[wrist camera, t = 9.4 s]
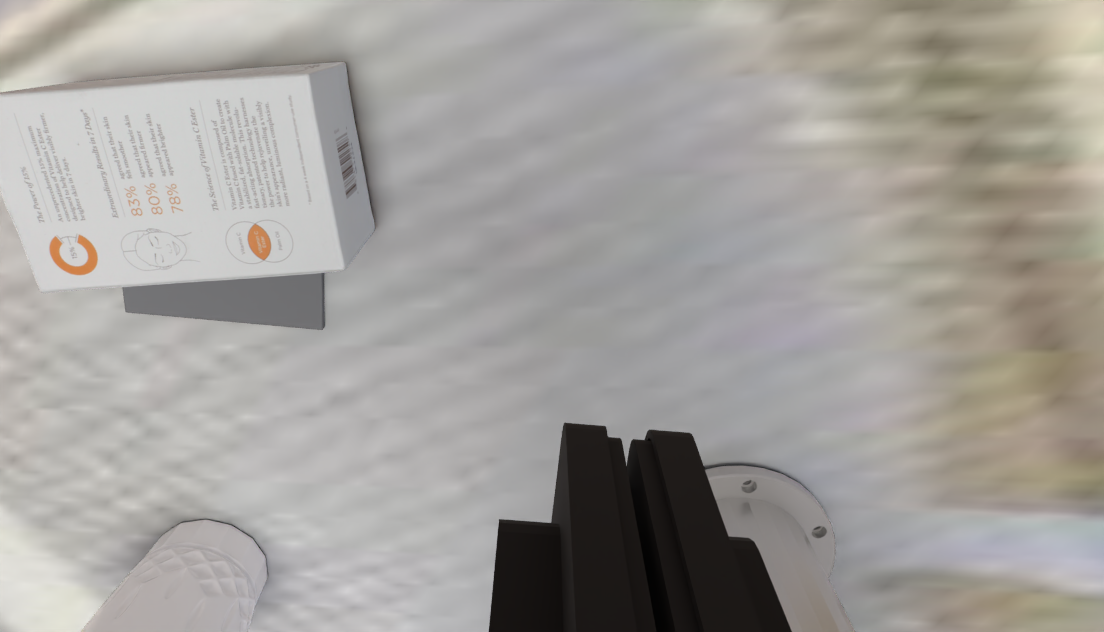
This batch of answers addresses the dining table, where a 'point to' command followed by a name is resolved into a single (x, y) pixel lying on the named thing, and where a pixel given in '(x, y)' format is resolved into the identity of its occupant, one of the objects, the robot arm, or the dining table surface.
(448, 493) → the dining table surface
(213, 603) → the white cup
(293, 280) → the mat
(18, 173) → the small box
